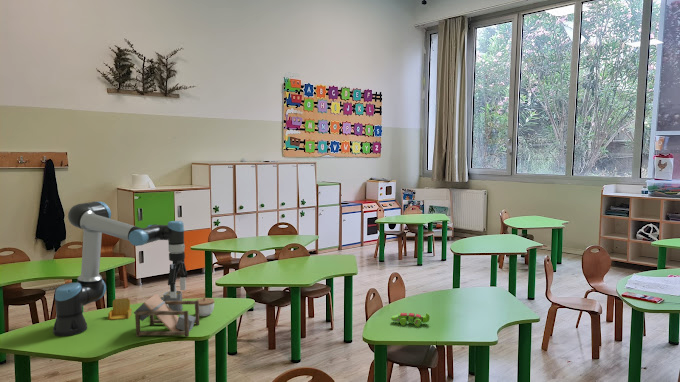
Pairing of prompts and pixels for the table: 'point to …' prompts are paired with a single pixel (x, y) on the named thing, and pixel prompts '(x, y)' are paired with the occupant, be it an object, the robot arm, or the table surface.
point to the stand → (152, 313)
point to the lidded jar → (205, 306)
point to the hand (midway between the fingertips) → (178, 293)
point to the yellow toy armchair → (120, 309)
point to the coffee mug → (178, 298)
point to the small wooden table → (159, 305)
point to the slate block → (180, 322)
